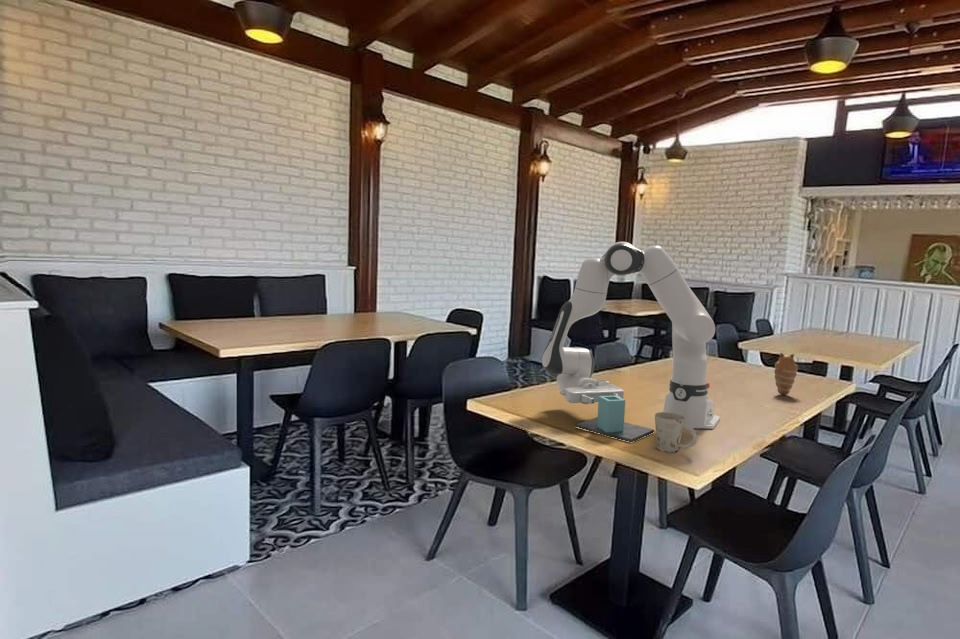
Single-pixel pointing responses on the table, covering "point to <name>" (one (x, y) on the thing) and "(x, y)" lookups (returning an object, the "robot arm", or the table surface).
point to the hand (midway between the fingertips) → (605, 400)
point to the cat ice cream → (785, 373)
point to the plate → (628, 434)
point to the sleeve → (611, 413)
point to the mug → (671, 431)
